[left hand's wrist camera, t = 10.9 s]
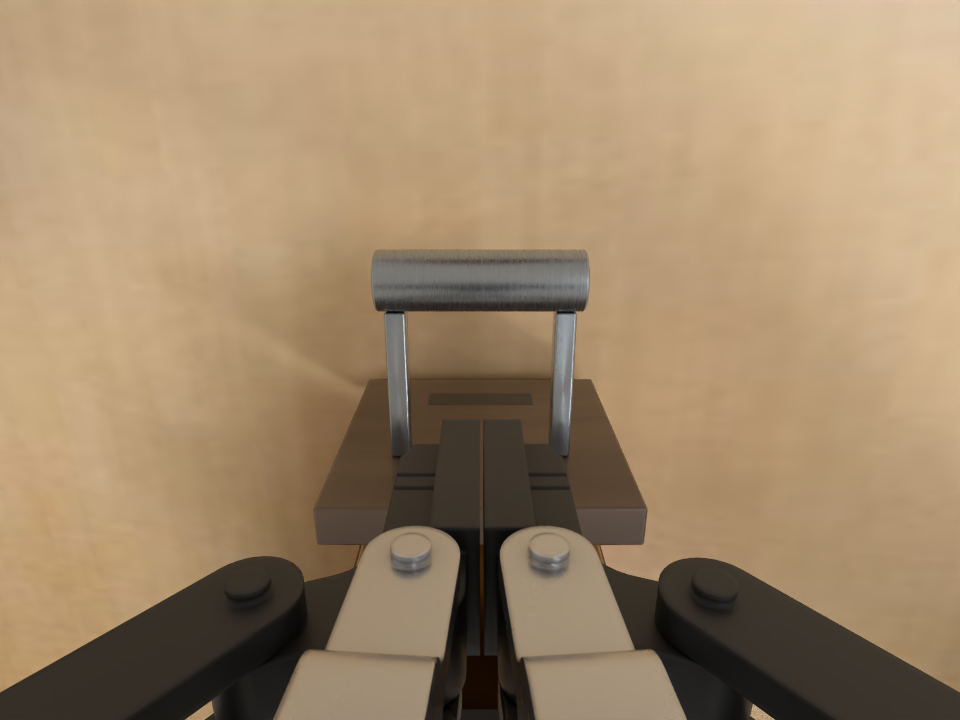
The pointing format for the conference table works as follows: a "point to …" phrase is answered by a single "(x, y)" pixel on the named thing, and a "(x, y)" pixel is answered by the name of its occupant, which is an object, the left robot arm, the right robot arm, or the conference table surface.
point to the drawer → (479, 406)
